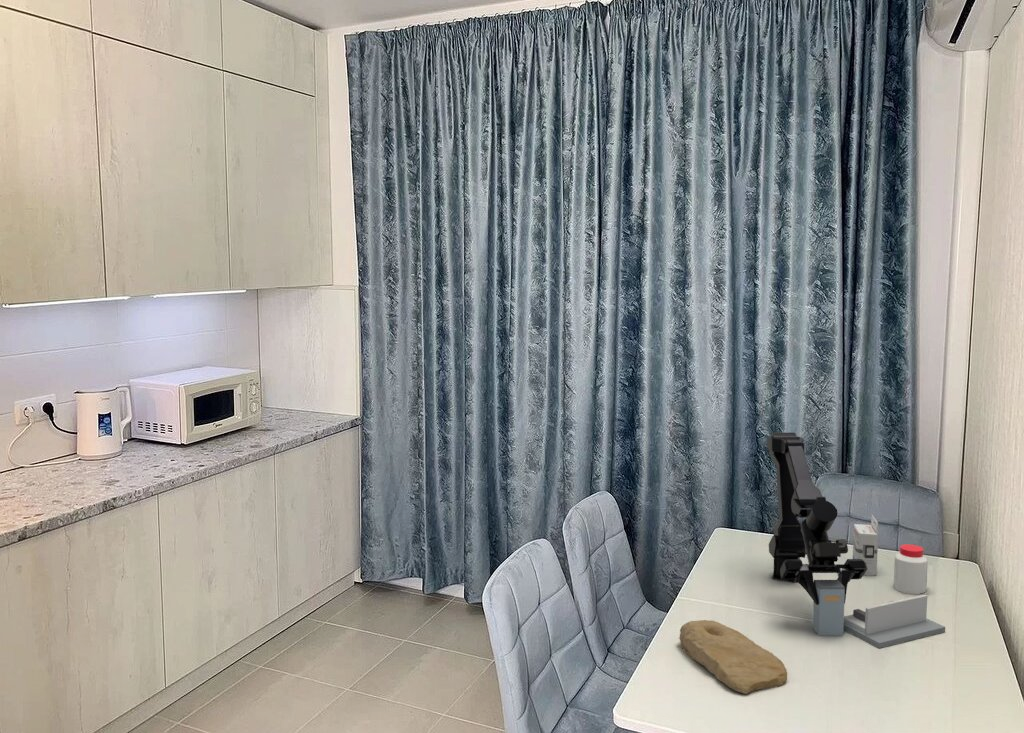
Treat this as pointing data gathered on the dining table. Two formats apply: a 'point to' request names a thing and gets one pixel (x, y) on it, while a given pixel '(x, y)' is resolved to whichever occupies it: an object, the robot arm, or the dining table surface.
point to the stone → (732, 656)
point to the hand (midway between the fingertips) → (830, 604)
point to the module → (829, 607)
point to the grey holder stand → (892, 622)
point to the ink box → (866, 545)
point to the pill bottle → (910, 570)
